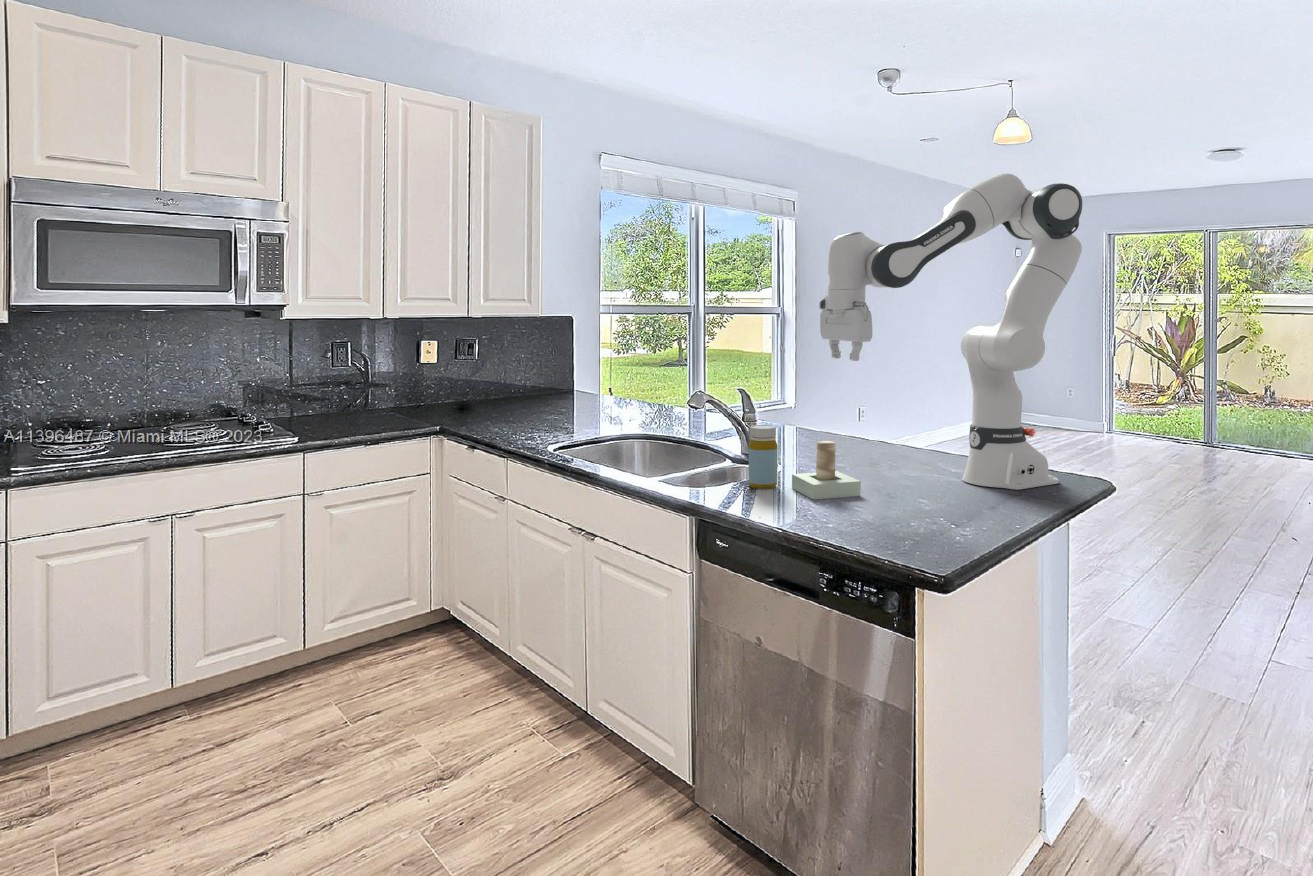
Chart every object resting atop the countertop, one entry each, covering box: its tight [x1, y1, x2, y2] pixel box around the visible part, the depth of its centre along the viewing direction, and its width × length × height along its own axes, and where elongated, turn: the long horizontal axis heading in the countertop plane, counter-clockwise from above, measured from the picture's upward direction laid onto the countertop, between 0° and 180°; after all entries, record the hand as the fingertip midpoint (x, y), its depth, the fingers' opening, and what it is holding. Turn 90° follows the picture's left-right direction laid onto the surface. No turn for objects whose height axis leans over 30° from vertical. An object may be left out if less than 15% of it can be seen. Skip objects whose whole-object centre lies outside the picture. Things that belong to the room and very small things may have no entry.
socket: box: [791, 470, 862, 500], centre depth 186 cm, size 12×12×4 cm
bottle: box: [748, 424, 779, 490], centre depth 192 cm, size 7×7×15 cm
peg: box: [815, 440, 837, 481], centre depth 186 cm, size 4×4×12 cm
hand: (844, 359), depth 190 cm, fingers open, 8 cm apart
